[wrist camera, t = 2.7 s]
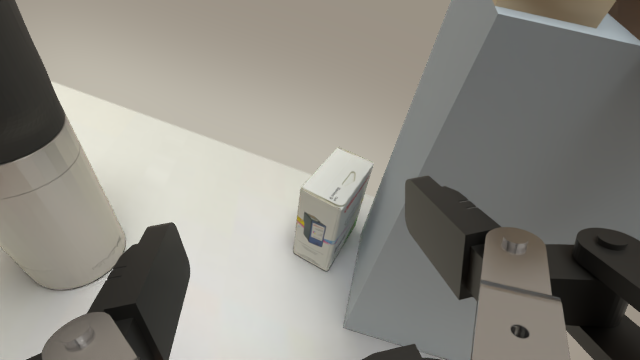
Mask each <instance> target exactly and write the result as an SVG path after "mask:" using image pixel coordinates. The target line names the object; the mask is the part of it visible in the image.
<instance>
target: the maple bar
mask: <svg viewBox="0 0 640 360" xmlns="http://www.w3.org/2000/svg"><path fill="white" fill-rule="evenodd" d="M492 1H493V3H494V5H495V6H498V7H503V8H507V9H512V10H516V11H521V12H525V13H529V14H534V15H538V16H543V17H547V18H552V19H556V20H561V21H565V22H570V23H574V24H579V25H583V26H587V27H592V28H597V27H598V25H599V24H600V23H601V21H602V20H603V18H604V17H605V16H606V14H607V13H608V11H609V10H610V9H611V7H612V6H613V4H614V3H615V2H616V0H492Z"/></svg>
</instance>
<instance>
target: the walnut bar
mask: <svg viewBox="0 0 640 360" xmlns="http://www.w3.org/2000/svg"><path fill="white" fill-rule="evenodd" d="M608 14H609V15H610V16H612V17H613V18H614V19H615V20H616V21H617V22H618V23H620V24H621V25H622V26H623V27H624V28H625V29H627V30H628V31H629V32H630V33H631V34H632V35H634V36H635V37H636V38H637V39H638V40H639V41H640V0H616V2H615V3H614V4H613V6H612V7H611V9H610V10H609V11H608Z"/></svg>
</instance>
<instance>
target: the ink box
mask: <svg viewBox="0 0 640 360" xmlns="http://www.w3.org/2000/svg"><path fill="white" fill-rule="evenodd" d="M373 165H374V164H373V162H372V161H369V160H367V159H365V158H363V157H360V156H358V155H356V154H354V153H351V152H349V151H347V150H344V149H342V148H339V147H337V149H336V150H335V151H334V152H333V153H332V154H331V155H330V156H329V157H328V158H327V160H326V161H325V162H324V163H323V164H322V165H321V166H320V167H319V168H318V169H317V170H316V171H315V173H314V174H313V175H312V176H311V177H310V178H309V179H308V180H307V181H306V182H305V184H304V185H303V186H302V187H301V189H300V197H299V206H298V215H297V223H296V231H295V240H294V250H293V252H294V253H295V254H297V255H298V256H300V257H302V258H303V259H305V260H307V261H309V262H310V263H312V264H314V265H316V266H318V267H319V268H321V269H323V270H325V271H328V270H329V268H330V266H331V265H332V263H333V261H334V259H335V258H336V256H337V254H338V253H339V251H340V249H341V248H342V246H343V244H344V243H345V241H346V239H347V238H348V236H349V234H350V233H351V231H352V230H353V228H354V226H355V224H356V221H357V217H358V214H359V211H360V207H361V204H362V201H363V197H364V194H365V190H366V187H367V184H368V181H369V178H370V174H371V171H372V168H373Z"/></svg>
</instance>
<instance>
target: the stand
mask: <svg viewBox="0 0 640 360" xmlns="http://www.w3.org/2000/svg"><path fill="white" fill-rule="evenodd" d="M422 176H430V177H431V178H432V179H433V180H435V181H436V182H437V183H438V184H439V185H440V186H441V187H443V186H446V187H449V188H451V189H454V190H456V191H459V192H460V193H461V194H462V195H464V196H465V197H466V198H467V199H468V201H471V202H472V203H473V204H474V205H476V208H477V207H478V208H479V209H481V210H482V211H483V212H484V213H485V214H487V215H488V216H489V217H490V218H491V219H493V220H494V221H495V222H496V223H497V224H499V225H500V226H501V227H512V228H518V229H522V230H526V231H528V232H531V233H533V234H534V235H536V236H538V237H539V238H540V239H541V240H542V241H543V242H544V244H568V245H574V244H575V240H576V237H577V234H578V232H579V231H581V230H583V229H587V228H606V229H611V230H616V231H619V232H622V233H625V234H627V235H630V236H632V237H634V238H636V239H637V240H639V241H640V41H639V40H638V39H637V38H636V37H635V36H634V35H632V34H631V33H630V32H629V31H628V30H627V29H625V28H624V27H623V26H622V25H621V24H620V23H618V22H617V21H616V20H615V19H614V18H613V17H612V16H610V15H609V14H608V13H607V14H606V16H605V17H604V18H603V20H602V21H601V23H600V24H599V25H598V27H597V28H592V27H587V26H583V25H579V24H574V23H570V22H565V21H561V20H556V19H552V18H547V17H543V16H538V15H534V14H529V13H525V12H521V11H516V10H512V9H507V8H503V7H498V6H495V5H494V3H493V1H492V0H451V3H450V5H449V8H448V10H447V13H446V15H445V18H444V20H443V23H442V26H441V28H440V31H439V33H438V36H437V38H436V41H435V44H434V46H433V49H432V51H431V54H430V57H429V59H428V62H427V64H426V67H425V69H424V72H423V75H422V77H421V80H420V82H419V85H418V88H417V90H416V93H415V96H414V98H413V101H412V103H411V106H410V108H409V111H408V113H407V116H406V119H405V121H404V124H403V127H402V129H401V132H400V134H399V137H398V139H397V142H396V144H395V147H394V150H393V152H392V155H391V158H390V160H389V163H388V165H387V168H386V170H385V173H384V176H383V178H382V181H381V183H380V186H379V188H378V191H377V194H376V196H375V199H374V201H373V204H372V207H371V209H370V212H369V214H368V217H367V219H366V222H365V225H364V227H363V230H362V233H361V238H360V243H359V248H358V253H357V259H356V264H355V269H354V274H353V280H352V285H351V290H350V295H349V300H348V306H347V311H346V316H345V321H344V327H343V328H346V329H349V330H352V331H356V332H359V333H362V334H365V335H369V336H372V337H375V338H378V339H382V340H385V341H388V342H391V343H395V344H398V345H401V346H407V345H411V344H415V345H416V347H417V349H418V351H421V352H424V353H427V354H431V355H434V356H437V357H440V358H444V359H447V360H470V355H471V347H472V339H473V330H474V322H475V314H476V306H477V301H476V300H475V298H474V297H470V298H466V299H462V300H458V298H457V297H456V296H455V294H454V293H453V291H452V290H451V289H450V287H449V286H448V285H447V283H446V282H445V281H444V279H443V278H442V277H441V275H440V274H439V272H438V271H437V270H436V268H435V267H434V266H433V264H432V263H431V262H430V260H429V259H428V258H427V256H426V255H425V253H424V252H423V251H422V249H421V248H420V247H419V245H418V244H417V243H416V241H415V240H414V239H413V237H412V236H411V234H410V233H409V231H408V229H407V226H406V221H405V183H406V180H407V179H411V178H416V177H422Z"/></svg>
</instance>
